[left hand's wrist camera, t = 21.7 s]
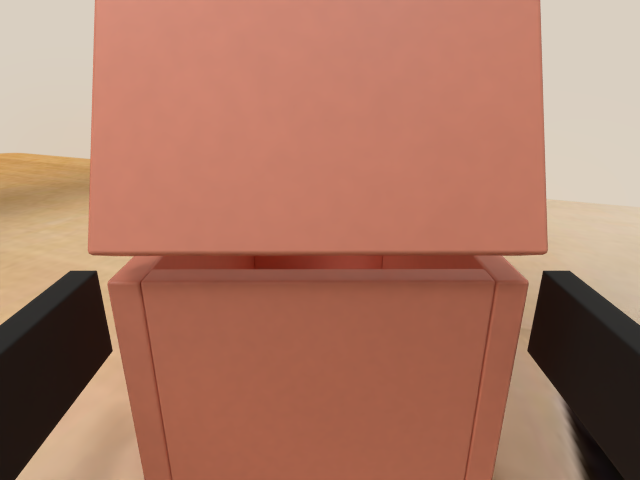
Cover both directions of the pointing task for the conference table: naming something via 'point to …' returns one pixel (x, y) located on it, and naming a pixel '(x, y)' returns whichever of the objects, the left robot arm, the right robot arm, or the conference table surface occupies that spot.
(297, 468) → the chest
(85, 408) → the conference table surface
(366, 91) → the lid
